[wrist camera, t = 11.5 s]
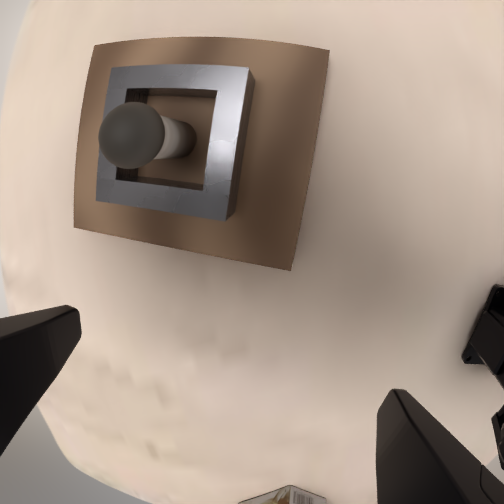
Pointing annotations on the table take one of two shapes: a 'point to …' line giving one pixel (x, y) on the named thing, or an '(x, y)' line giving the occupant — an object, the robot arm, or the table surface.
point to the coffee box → (287, 497)
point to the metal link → (220, 145)
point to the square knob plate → (206, 146)
